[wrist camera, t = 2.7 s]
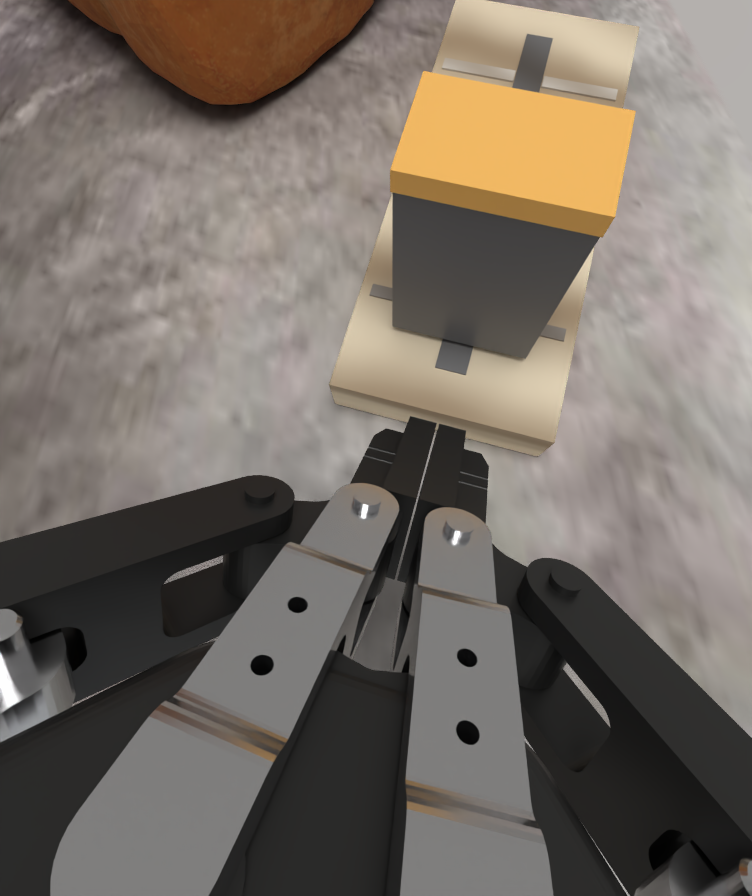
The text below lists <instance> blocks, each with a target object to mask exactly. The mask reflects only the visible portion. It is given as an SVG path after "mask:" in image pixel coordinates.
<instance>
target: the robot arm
mask: <svg viewBox="0 0 752 896" xmlns="http://www.w3.org/2000/svg"><path fill="white" fill-rule="evenodd" d="M436 424H437V423H435V422H431V421H427V420H424V419H420V418H416V417H412V416H410V418H409V421H408V423H407V426H406V428H405V431H404V433H401V432H398V431H394V430H390V429H384V430H383V431H381V432H379V433H378V434H376V435H374V437H373V439H372V441H371V443H370V445H369V448H368V449H367V451H366V453H365V455H364V457H363V459H362V461H361V463H360V465H359V467H358V469H357V471H356V473H355V475H354V477H353V479H352V481H351V483H350V484H348V485H345V486H343V487H341V488H340V489H338V490H337V491H336V492H335V494H334V495H333V497H332V498H331V500H327V501H320V502H310V501H294V498H295V497H294V492H293V490H292V489H291V488H290V486H289V485H287V484H286V483H285V482H283V481H281V480H279V479H277V478H274V477H269V476H262V475H253V476H246V477H242V478H238V479H235V480H231V481H227V482H223V483H220V484H216V485H212V486H209V487H205V488H201V489H197V490H194V491H190V492H186V493H183V494H179V495H175V496H171V497H168V498H164V499H160V500H156V501H153V502H149V503H145V504H142V505H138V506H134V507H130V508H127V509H123V510H119V511H116V512H112V513H108V514H104V515H101V516H97V517H93V518H90V519H86V520H82V521H78V522H75V523H71V524H67V525H64V526H60V527H56V528H52V529H49V530H45V531H41V532H37V533H34V534H30V535H26V536H23V537H19V538H15V539H11V540H8V541H4V542H0V896H627V894H626V893H625V891H624V890H623V888H622V886H621V885H620V883H619V882H618V880H617V878H616V877H615V875H614V874H613V872H612V871H611V869H610V867H609V866H608V864H607V863H606V861H605V859H606V860H607V862H608V863H609V865H610V866H611V867H612V869H613V871H614V872H615V874H616V875H617V877H618V878H619V880H620V881H621V883H622V884H623V886H624V887H625V889H626V890H627V892H628V893H629V894H630V896H752V738H751V737H750V736H749V735H748V734H747V733H746V732H745V731H744V730H743V729H742V728H741V727H740V726H739V725H738V724H737V723H736V722H735V721H734V720H733V719H732V718H731V717H730V716H729V715H728V714H727V713H726V712H725V711H724V710H723V709H722V708H721V707H720V706H719V705H718V704H717V703H716V702H715V701H714V700H713V699H712V698H711V697H710V696H709V695H708V694H707V693H706V692H705V691H704V690H703V689H702V688H701V687H700V686H699V685H698V684H697V683H696V682H695V681H694V680H693V679H692V678H691V677H690V676H689V675H688V674H687V673H686V672H685V671H684V670H683V669H682V668H681V667H680V666H678V665H677V664H676V663H675V662H674V661H673V660H672V659H671V658H670V657H669V656H668V655H667V654H666V653H665V652H664V651H663V650H662V649H661V648H660V647H659V646H658V645H657V644H656V643H655V642H654V641H653V640H652V639H651V638H650V637H649V636H648V635H647V634H646V633H645V632H644V631H643V630H642V629H641V628H640V627H639V626H638V625H637V624H636V623H635V622H634V621H633V620H632V619H631V618H630V617H629V616H628V615H627V614H626V613H625V612H624V611H623V610H622V609H621V608H620V607H619V606H618V605H617V604H616V603H615V602H614V601H613V600H612V599H611V598H610V597H609V596H608V595H607V594H606V593H605V592H604V591H603V590H602V589H601V588H600V587H599V586H598V585H597V584H596V583H595V582H594V581H593V580H592V579H591V578H590V577H589V576H588V575H586V574H585V573H584V572H583V571H581V570H580V569H578V568H577V567H575V566H573V565H571V564H569V563H567V562H564V561H561V560H558V559H552V558H541V559H537V560H535V561H533V562H531V563H530V565H529V566H528V567H526V566H524V565H522V564H520V563H518V562H517V561H515V560H513V559H511V558H509V557H508V556H506V555H505V554H503V553H502V552H501V551H499V550H498V549H497V548H496V547H495V546H494V545H493V544H492V536H491V532H490V530H489V528H488V527H487V525H486V524H485V523H486V505H487V487H488V469H489V466H488V464H487V463H486V461H485V459H484V458H483V456H482V454H480V453H477V452H473V451H469V450H465V449H464V442H465V435H466V430H462V429H458V428H454V427H451V426H447V425H443V424H439V426H438V430H437V433H436V437H435V441H434V444H433V448H432V452H431V455H430V459H429V462H428V466H427V470H426V473H425V477H424V481H423V484H422V488H421V492H420V496H419V499H418V503H417V507H416V511H415V515H414V518H413V522H412V526H411V530H410V534H409V537H408V541H407V545H406V549H405V552H404V556H403V560H402V564H401V568H400V571H399V575H398V579H397V580H398V581H402V582H405V583H406V585H405V589H404V593H403V597H402V600H401V604H400V607H399V611H398V616H397V623H396V630H395V637H394V644H393V651H392V658H391V665H390V672H387V671H375V670H371V669H368V668H366V667H364V666H362V665H360V664H359V663H357V662H355V661H354V660H353V658H354V655H355V653H356V650H357V648H358V645H359V643H360V640H361V638H362V636H363V633H364V631H365V628H366V626H367V623H368V621H369V618H370V616H371V613H372V611H373V609H374V606H375V603H376V599H377V596H378V595H379V593H380V592H381V590H382V588H383V585H384V581H385V578H386V577H388V578H391V579H395V575H396V571H397V568H398V564H399V560H400V557H401V553H402V549H403V546H404V542H405V538H406V535H407V531H408V527H409V524H410V520H411V516H412V513H413V509H414V505H415V502H416V498H417V494H418V491H419V487H420V483H421V480H422V476H423V472H424V469H425V465H426V461H427V457H428V454H429V450H430V446H431V443H432V439H433V435H434V432H435V428H436ZM222 555H223V563H220V564H217V565H215V566H212V567H209V568H207V569H204V570H201V571H198V572H196V573H193V574H190V575H188V576H185V577H182V578H180V579H177V580H174V581H172V582H169V583H166V584H164V582H165V581H166V580H167V579H168V578H169V577H170V576H172V575H173V574H175V573H176V572H178V571H181V570H183V569H186V568H189V567H192V566H194V565H197V564H200V563H203V562H206V561H208V560H211V559H214V558H217V557H219V556H222ZM218 636H219V637H218ZM215 637H218V638H217V640H216V641H212V642H209V643H205V642H207V641H209V640H211V639H213V638H215ZM202 643H205V644H202ZM200 644H201V645H200ZM198 645H199V646H198ZM566 663H568V664H569V665H570V667H571V668H572V669H573V670H574V672H575V673H576V674H577V675H578V676H579V678H580V679H581V680H582V681H583V683H584V684H585V685H586V686H587V687H588V689H589V690H590V691H591V692H592V694H593V695H594V696H595V697H596V698H597V700H598V701H599V702H600V703H601V705H602V706H603V708H604V709H605V711H606V713H607V715H608V718H609V721H610V727H609V726H608V725H607V723H606V722H605V721H604V720H603V718H602V717H601V716H600V715H599V713H598V712H597V711H596V710H595V709H594V707H593V706H592V705H591V704H590V702H589V701H588V700H587V699H586V697H585V696H584V695H583V694H582V692H581V691H580V690H579V689H578V687H577V686H576V685H575V684H574V682H573V681H572V680H571V679H570V677H569V676H568V675H567V674H566V672H565V671H564V670H563V668H564V666H565V664H566ZM148 668H149V669H148ZM146 669H147V670H146ZM144 670H145V671H144ZM142 671H143V672H142ZM140 672H141V673H140ZM138 673H139V674H138ZM136 674H137V675H136ZM133 675H135V676H133ZM131 676H133V677H131ZM129 677H131V678H129ZM127 678H129V679H127ZM125 679H127V680H125ZM123 680H125V681H123ZM120 681H123V682H121V683H119V684H117V685H115V686H113V687H111V688H109V689H107V690H105V691H103V692H101V693H99V694H97V695H95V696H93V697H91V698H89V699H87V700H85V701H83V702H81V703H79V704H77V705H75V706H73V707H72V704H73V703H75V702H77V701H79V700H82V699H84V698H86V697H88V696H90V695H92V694H95V693H97V692H99V691H101V690H103V689H105V688H107V687H110V686H112V685H114V684H116V683H118V682H120ZM524 736H525V738H526V739H527V741H528V742H529V744H530V745H531V747H532V748H533V750H534V751H535V752H534V751H533V750H532V749H531V748H530V747H529V746H528V745H527V743H526V742H525V741H524ZM581 822H582V823H581ZM583 825H584V826H583ZM585 828H586V829H585ZM586 830H587V831H588V832H587V831H586ZM588 833H589V834H590V835H589V834H588ZM590 836H591V837H592V839H593V840H594V842H595V843H596V845H597V846H598V848H599V849H600V851H601V852H602V854H603V856H604V857H605V859H604V858H603V856H602V855H601V853H600V851H599V850H598V848H597V847H596V845H595V843H594V842H593V840H592V839H591V837H590Z"/></svg>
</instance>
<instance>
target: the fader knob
mask: <svg viewBox="0 0 752 896" xmlns="http://www.w3.org/2000/svg"><path fill="white" fill-rule="evenodd" d="M635 112H636V111H633V110H628V109H622V108H617V107H612V106H606V105H601V104H596V103H590V102H585V101H580V100H575V99H569V98H564V97H559V96H553V95H548V94H543V93H537V92H532V91H527V90H522V89H516V88H511V87H506V86H500V85H495V84H490V83H484V82H479V81H474V80H469V79H463V78H458V77H453V76H447V75H442V74H437V73H431V72H426V71H423V74H422V77H421V80H420V83H419V86H418V89H417V92H416V95H415V98H414V101H413V104H412V107H411V110H410V113H409V116H408V119H407V122H406V125H405V128H404V131H403V133H402V136H401V139H400V142H399V145H398V148H397V151H396V154H395V157H394V160H393V163H392V166H391V169H390V192H393V203H392V326H393V327H397V328H401V329H405V330H409V331H413V332H417V333H421V334H425V335H430V336H434V337H438V338H442V339H446V340H450V341H454V342H458V343H463V344H467V345H471V346H475V347H479V348H483V349H487V350H491V351H495V352H500V353H504V354H508V355H512V356H516V357H520V358H524V359H526V357H527V356H528V354H529V353H530V351H531V349H532V348H533V346H534V344H535V343H536V341H537V339H538V338H539V336H540V335H541V333H542V331H543V330H544V328H545V326H546V325H547V323H548V321H549V320H550V318H551V316H552V315H553V313H554V312H555V310H556V308H557V307H558V305H559V303H560V302H561V300H562V298H563V297H564V295H565V294H566V292H567V290H568V289H569V287H570V285H571V284H572V282H573V280H574V279H575V277H576V275H577V274H578V272H579V271H580V269H581V267H582V266H583V264H584V262H585V261H586V259H587V257H588V256H589V254H590V253H591V251H592V249H593V248H594V246H595V244H596V243H597V241H598V239H599V238H600V237H603V236H604V234H605V232H606V231H607V229H608V228H609V226H610V224H611V223H612V221H613V219H614V218H615V214H616V209H617V204H618V199H619V194H620V189H621V183H622V178H623V173H624V168H625V163H626V158H627V153H628V148H629V143H630V138H631V133H632V127H633V122H634V117H635Z"/></svg>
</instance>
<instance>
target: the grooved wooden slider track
mask: <svg viewBox="0 0 752 896" xmlns="http://www.w3.org/2000/svg"><path fill="white" fill-rule="evenodd" d="M638 32H639V27H637V26H631V25H626V24H620V23H614V22H608V21H602V20H596V19H591V18H585V17H579V16H573V15H567V14H562V13H556V12H550V11H544V10H538V9H533V8H527V7H521V6H515V5H509V4H503V3H498V2H492V1H486V0H456V1H455V4H454V7H453V10H452V13H451V16H450V19H449V22H448V25H447V28H446V31H445V34H444V38H443V41H442V44H441V47H440V50H439V53H438V56H437V59H436V62H435V65H434V68H433V71H432V73H437V74H442V75H447V76H453V77H458V78H463V79H469V80H474V81H479V82H484V83H490V84H495V85H500V86H506V87H511V88H516V89H522V90H527V91H532V92H537V93H543V94H548V95H553V96H559V97H564V98H569V99H575V100H580V101H585V102H590V103H596V104H601V105H606V106H612V107H617V108H622V109H623V105H624V100H625V95H626V90H627V85H628V81H629V76H630V71H631V66H632V61H633V56H634V51H635V46H636V41H637V37H638ZM392 203H393V192H392V195H391V198H390V201H389V204H388V207H387V210H386V213H385V217H384V220H383V223H382V226H381V229H380V232H379V235H378V238H377V241H376V244H375V247H374V250H373V253H372V256H371V259H370V262H369V265H368V268H367V271H366V274H365V277H364V280H363V283H362V286H361V289H360V292H359V295H358V298H357V301H356V304H355V308H354V311H353V314H352V317H351V320H350V323H349V326H348V329H347V332H346V335H345V338H344V341H343V344H342V347H341V350H340V353H339V356H338V359H337V362H336V365H335V368H334V371H333V374H332V377H331V380H330V383H329V386H330V389H331V392H332V395H333V398H334V401H335V404H338V405H342V406H346V407H350V408H353V409H357V410H361V411H365V412H369V413H373V414H376V415H380V416H384V417H388V418H392V419H395V420H399V421H403V422H407V423H408V421H409V418H410V416H412V417H416V418H420V419H424V420H427V421H431V422H435V423H437V424H436V428H435V430H438V426H439V424H443V425H447V426H451V427H454V428H458V429H462V430H466V435H465V438H468V439H472V440H476V441H479V442H483V443H487V444H491V445H495V446H498V447H502V448H506V449H510V450H514V451H518V452H521V453H525V454H529V455H533V456H537V457H538V456H539V455H540V454H542V453H543V452H544V451H545V450H546V449H548V448H549V447H550V446H551V445H552V444H554V443H555V438H556V433H557V428H558V423H559V418H560V413H561V408H562V403H563V398H564V394H565V389H566V384H567V379H568V374H569V369H570V364H571V359H572V354H573V350H574V345H575V340H576V335H577V330H578V325H579V320H580V315H581V310H582V306H583V301H584V296H585V291H586V286H587V281H588V276H589V271H590V266H591V262H592V257H593V252H594V248H593V249H592V251H591V253H590V254H589V256H588V257H587V259H586V261H585V262H584V264H583V266H582V267H581V269H580V271H579V272H578V274H577V275H576V277H575V279H574V280H573V282H572V284H571V285H570V287H569V289H568V290H567V292H566V294H565V295H564V297H563V298H562V300H561V302H560V303H559V305H558V307H557V308H556V310H555V312H554V313H553V315H552V316H551V318H550V320H549V321H548V323H547V325H546V326H545V328H544V330H543V331H542V333H541V335H540V336H539V338H538V339H537V341H536V343H535V344H534V346H533V348H532V349H531V351H530V353H529V354H528V356H527V357H526V359H524V358H520V357H516V356H512V355H508V354H504V353H500V352H495V351H491V350H487V349H483V348H479V347H475V346H471V345H467V344H463V343H458V342H454V341H450V340H446V339H442V338H438V337H434V336H430V335H425V334H421V333H417V332H413V331H409V330H405V329H401V328H397V327H393V326H392ZM594 247H595V246H594Z"/></svg>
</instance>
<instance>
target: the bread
mask: <svg viewBox="0 0 752 896" xmlns="http://www.w3.org/2000/svg"><path fill="white" fill-rule="evenodd" d="M68 1H69V2H70V3H71V4H73V5H74V6H75V7H76V8H78V9H79V10H80V11H81V12H82V13H84V14H85V15H86V16H87V17H89V18H90V19H91V20H92V21H94V22H96V23H97V24H99V25H100V26H102V27H104V28H105V29H107V30H108V31H110V32H113V33H116V34H119V35H122V36H123V37H124V39H125V40H126V42H127V43H128V44H129V46H130V47H131V48H132V50H133V51H134V52H135V54H136V55H137V56H138V57H139V59H140V60H142V61H143V62H144V63H145V64H146V65H147V66H148V67H149V68H150V69H151V70H152V71H153V72H155V73H156V74H158V75H160V76H161V77H163V78H164V79H166V80H168V81H169V82H171V83H172V84H174V85H176V86H177V87H179V88H180V89H182V90H183V91H185V92H186V93H188V94H189V95H191V96H194V97H196V98H198V99H200V100H202V101H205V102H207V103H209V104H222V105H232V104H243V103H252V102H254V101H256V100H258V99H260V98H262V97H264V96H266V95H268V94H269V93H271V92H273V91H275V90H277V89H279V88H281V87H283V86H285V85H286V84H288V83H289V82H291V81H292V80H294V79H295V78H296V77H298V76H299V75H301V74H302V73H304V72H305V71H306V70H307V69H308V68H309V67H310V66H311V65H312V64H313V63H314V62H315V61H316V60H317V59H318V58H319V57H320V56H321V55H323V54H324V53H325V52H326V51H328V50H329V49H330V48H332V47H333V46H334V45H336V44H337V43H338V42H339V41H341V40H342V39H343V38H345V37H346V36H347V35H348V34H349V33H350V32H351V31H352V29H353V28H354V27H355V25H356V24H357V23H358V21H359V20H360V19H361V17H362V16H363V15H364V14H365V13H366V12H367V11H368V10H369V8H370V7H371V6H372V4H373V2H374V0H68Z"/></svg>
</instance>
